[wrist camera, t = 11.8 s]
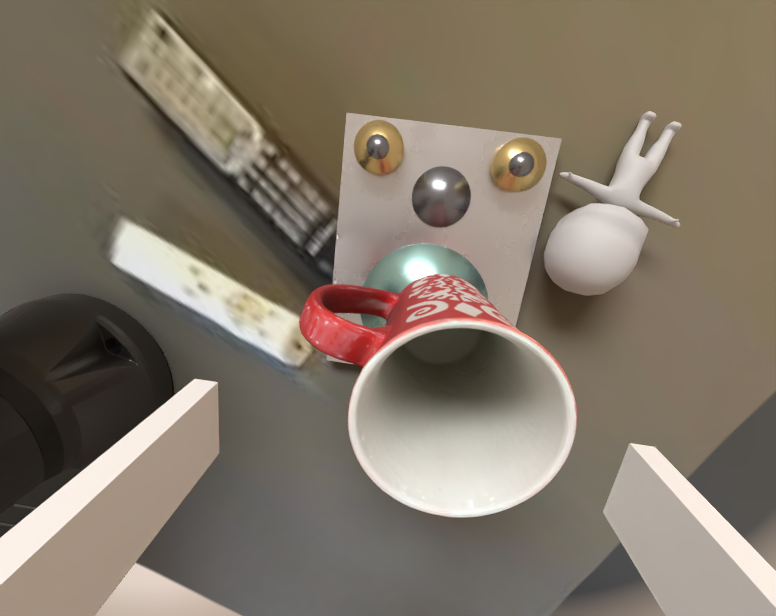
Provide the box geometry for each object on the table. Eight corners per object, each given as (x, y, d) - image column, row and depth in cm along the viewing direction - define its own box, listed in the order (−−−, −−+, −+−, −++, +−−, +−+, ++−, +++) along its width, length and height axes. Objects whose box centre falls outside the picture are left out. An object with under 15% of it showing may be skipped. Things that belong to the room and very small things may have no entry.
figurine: (754, 128, 20) (656, 318, 20) (685, 170, 25) (607, 320, 25) (617, 74, 21) (523, 255, 21) (578, 125, 26) (503, 269, 26)
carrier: (330, 354, 30) (320, 370, 27) (350, 116, 25) (340, 105, 22) (497, 379, 29) (505, 399, 26) (555, 141, 24) (573, 133, 21)
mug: (528, 302, 26) (632, 401, 13) (457, 394, 29) (486, 553, 16) (379, 209, 25) (333, 216, 12) (319, 313, 28) (230, 410, 15)
